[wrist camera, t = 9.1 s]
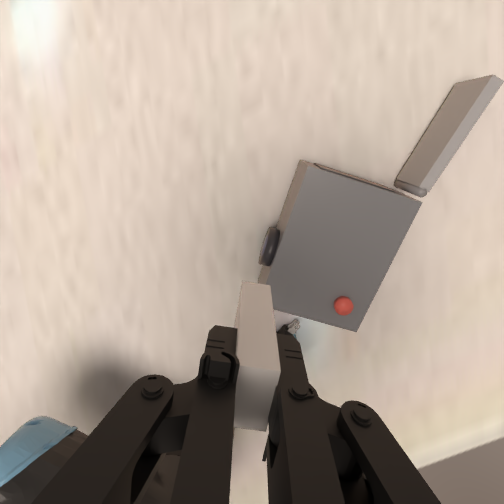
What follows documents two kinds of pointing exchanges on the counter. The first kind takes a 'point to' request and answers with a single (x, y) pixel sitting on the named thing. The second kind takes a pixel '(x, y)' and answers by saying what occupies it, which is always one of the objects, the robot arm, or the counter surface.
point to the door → (446, 133)
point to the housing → (333, 245)
